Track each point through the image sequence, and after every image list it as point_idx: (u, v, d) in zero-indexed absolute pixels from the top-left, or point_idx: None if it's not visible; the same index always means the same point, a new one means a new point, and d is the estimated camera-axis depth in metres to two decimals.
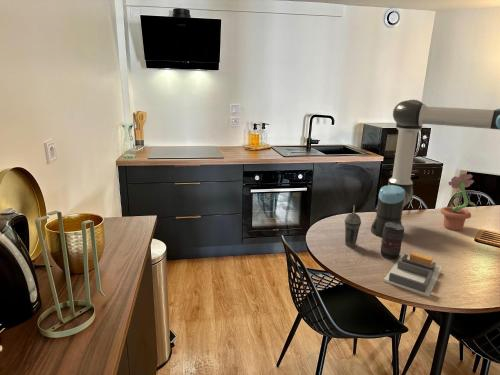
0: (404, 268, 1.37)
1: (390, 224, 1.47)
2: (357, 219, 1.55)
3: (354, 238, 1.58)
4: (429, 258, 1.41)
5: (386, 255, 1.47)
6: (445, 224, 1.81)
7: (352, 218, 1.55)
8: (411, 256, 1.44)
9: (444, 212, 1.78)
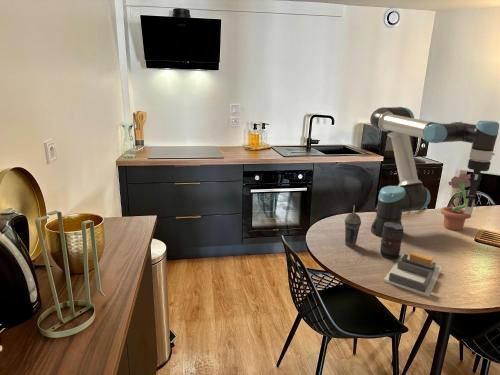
0: (404, 268, 1.37)
1: (389, 223, 1.48)
2: (357, 219, 1.55)
3: (354, 238, 1.58)
4: (429, 258, 1.41)
5: (386, 255, 1.47)
6: (445, 224, 1.81)
7: (352, 218, 1.55)
8: (411, 256, 1.44)
9: (444, 212, 1.78)
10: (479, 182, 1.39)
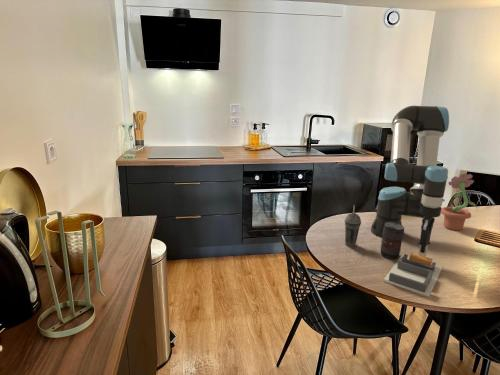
0: (404, 268, 1.37)
1: (390, 224, 1.48)
2: (357, 219, 1.55)
3: (354, 238, 1.58)
4: (428, 259, 1.40)
5: (386, 255, 1.47)
6: (445, 224, 1.81)
7: (352, 218, 1.55)
8: (410, 257, 1.43)
9: (444, 212, 1.78)
10: (430, 229, 1.38)
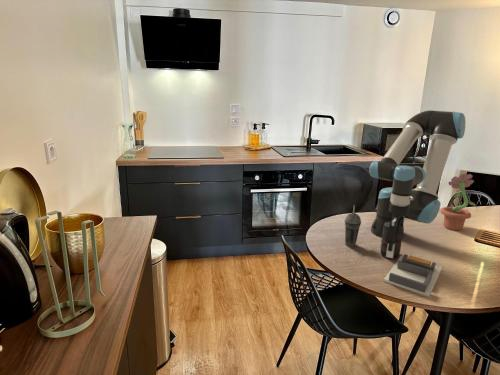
0: (404, 268, 1.37)
1: (389, 223, 1.48)
2: (357, 219, 1.55)
3: (354, 238, 1.58)
4: (427, 262, 1.38)
5: None
6: (445, 224, 1.81)
7: (352, 218, 1.55)
8: (409, 259, 1.41)
9: (444, 212, 1.78)
10: (398, 226, 1.42)
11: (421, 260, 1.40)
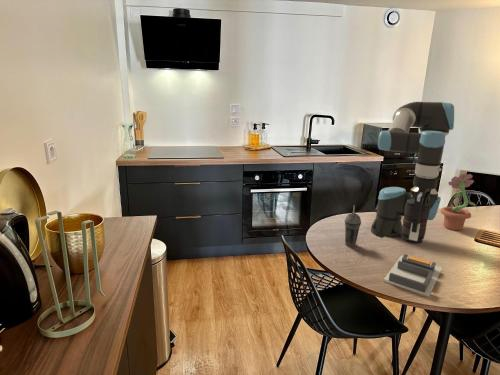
0: (404, 268, 1.37)
1: (413, 200, 1.26)
2: (357, 219, 1.55)
3: (354, 238, 1.58)
4: (427, 262, 1.38)
5: None
6: (445, 224, 1.81)
7: (352, 218, 1.55)
8: (409, 259, 1.41)
9: (444, 212, 1.78)
10: (424, 203, 1.20)
11: (421, 260, 1.40)
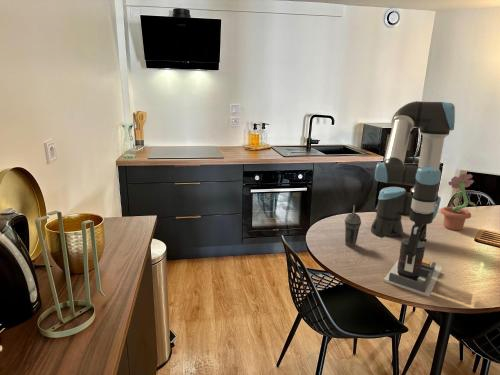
0: None
1: (408, 240, 1.30)
2: (357, 219, 1.55)
3: (354, 238, 1.58)
4: (427, 262, 1.38)
5: (405, 276, 1.29)
6: (445, 224, 1.81)
7: (352, 218, 1.55)
8: None
9: (444, 212, 1.78)
10: (420, 236, 1.22)
11: None
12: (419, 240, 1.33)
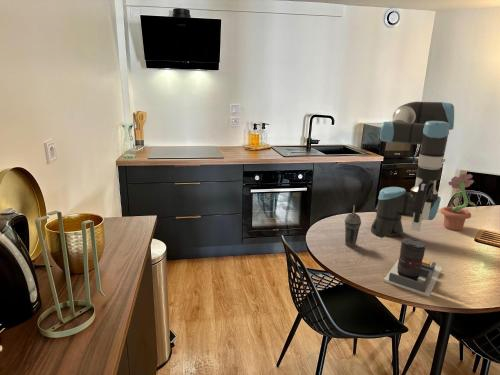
0: None
1: (408, 240, 1.30)
2: (357, 219, 1.55)
3: (354, 238, 1.58)
4: (427, 262, 1.38)
5: (405, 276, 1.29)
6: (445, 224, 1.81)
7: (352, 218, 1.55)
8: None
9: (444, 212, 1.78)
10: (428, 193, 1.18)
11: None
12: (426, 201, 1.29)
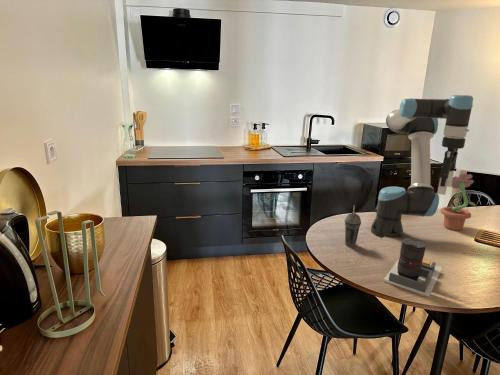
0: None
1: (408, 240, 1.30)
2: (357, 219, 1.55)
3: (354, 238, 1.58)
4: (427, 262, 1.38)
5: (405, 276, 1.29)
6: (445, 224, 1.81)
7: (352, 218, 1.55)
8: None
9: (444, 212, 1.78)
10: (453, 160, 1.31)
11: None
12: (449, 170, 1.42)
